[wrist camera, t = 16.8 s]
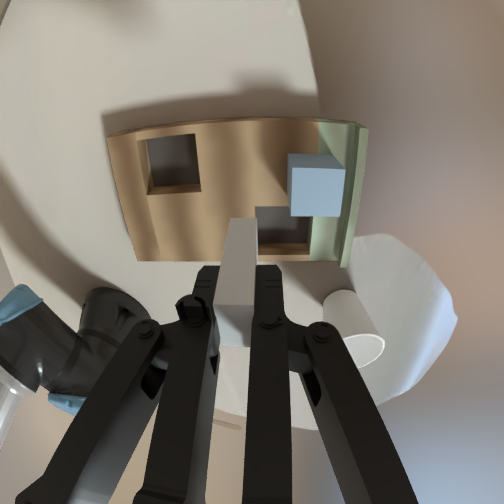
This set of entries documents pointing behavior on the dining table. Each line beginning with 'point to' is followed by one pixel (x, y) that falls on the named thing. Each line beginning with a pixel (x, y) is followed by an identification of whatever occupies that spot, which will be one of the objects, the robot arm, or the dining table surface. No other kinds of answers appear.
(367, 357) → the cup
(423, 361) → the dining table surface
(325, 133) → the board
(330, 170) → the block
